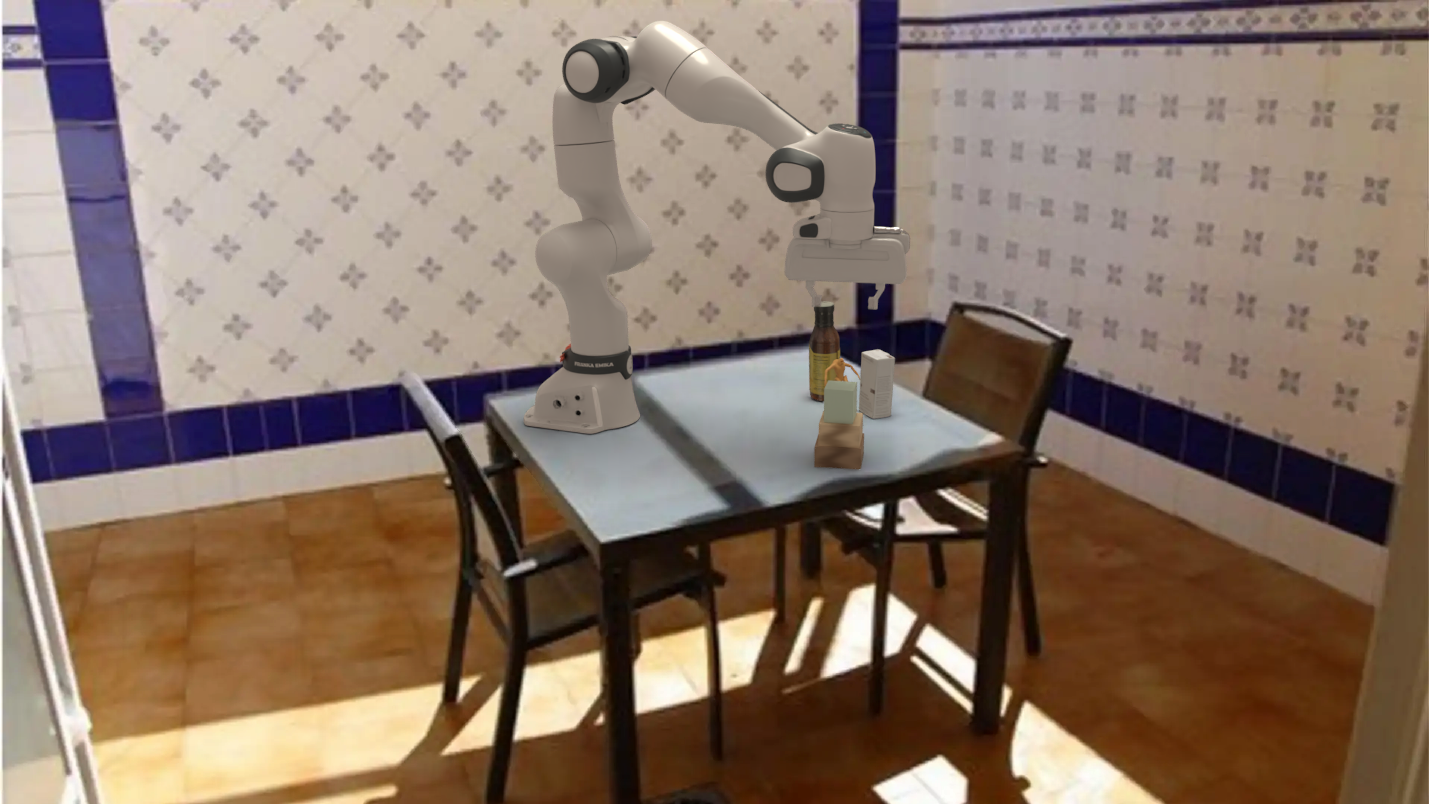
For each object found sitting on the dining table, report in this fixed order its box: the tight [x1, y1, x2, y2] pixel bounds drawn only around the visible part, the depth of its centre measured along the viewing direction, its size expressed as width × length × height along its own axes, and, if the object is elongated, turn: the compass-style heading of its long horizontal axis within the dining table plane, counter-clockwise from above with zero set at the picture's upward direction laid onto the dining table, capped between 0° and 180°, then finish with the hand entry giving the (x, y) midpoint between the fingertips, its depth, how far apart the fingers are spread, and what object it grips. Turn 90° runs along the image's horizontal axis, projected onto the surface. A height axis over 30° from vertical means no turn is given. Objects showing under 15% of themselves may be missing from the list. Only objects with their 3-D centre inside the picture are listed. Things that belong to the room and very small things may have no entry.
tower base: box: [813, 432, 865, 470], centre depth 208 cm, size 8×8×4 cm
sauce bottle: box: [808, 300, 841, 402], centre depth 238 cm, size 7×6×20 cm
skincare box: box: [858, 349, 896, 419], centre depth 230 cm, size 6×4×12 cm
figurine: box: [824, 357, 860, 386], centre depth 227 cm, size 8×6×12 cm
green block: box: [823, 380, 858, 424], centre depth 205 cm, size 5×5×6 cm
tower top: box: [818, 410, 864, 448], centre depth 207 cm, size 7×7×4 cm
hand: (844, 307), depth 200 cm, fingers open, 8 cm apart
